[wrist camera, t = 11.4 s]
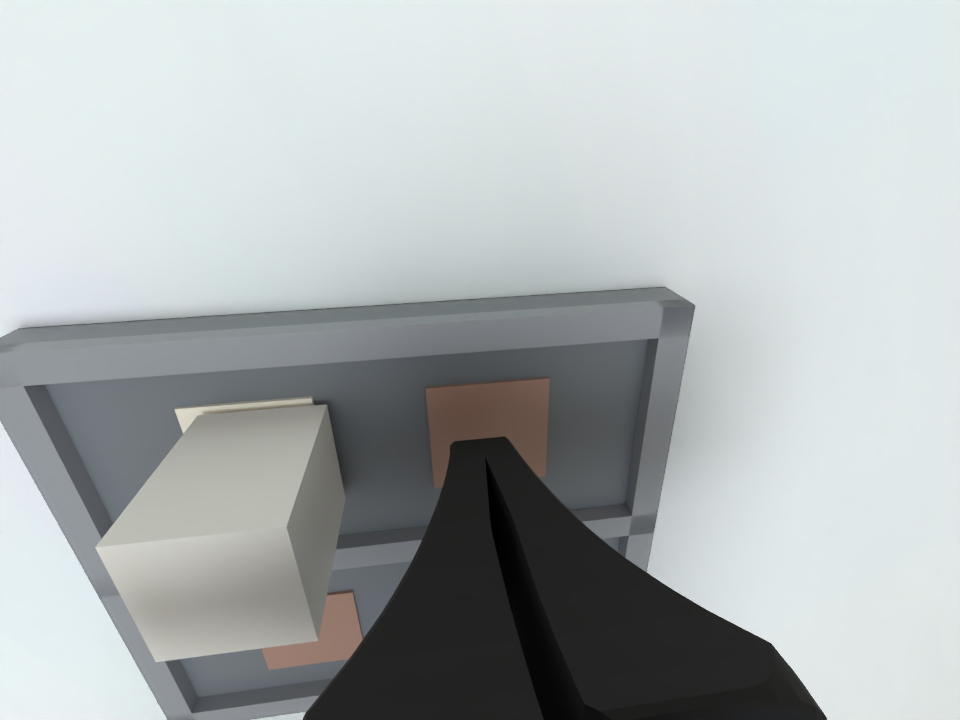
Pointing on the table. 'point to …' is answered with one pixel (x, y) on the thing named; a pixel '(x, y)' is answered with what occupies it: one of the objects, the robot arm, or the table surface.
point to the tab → (232, 535)
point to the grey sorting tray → (352, 438)
